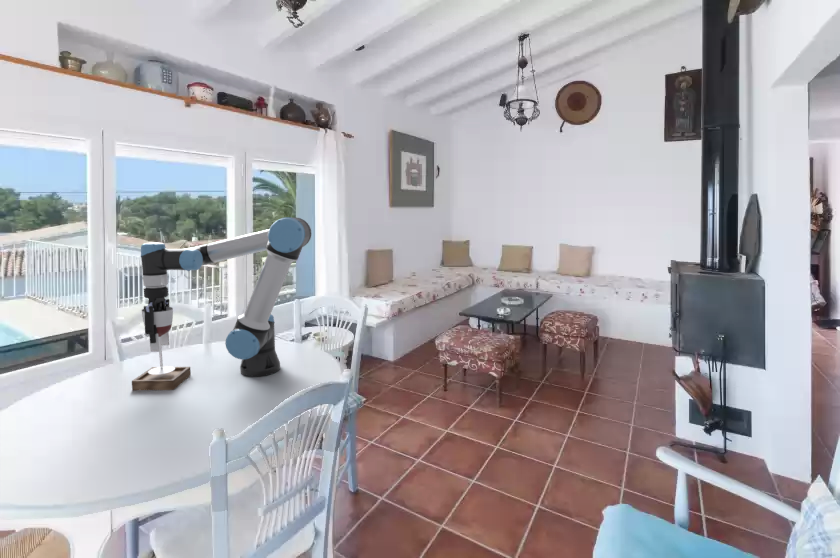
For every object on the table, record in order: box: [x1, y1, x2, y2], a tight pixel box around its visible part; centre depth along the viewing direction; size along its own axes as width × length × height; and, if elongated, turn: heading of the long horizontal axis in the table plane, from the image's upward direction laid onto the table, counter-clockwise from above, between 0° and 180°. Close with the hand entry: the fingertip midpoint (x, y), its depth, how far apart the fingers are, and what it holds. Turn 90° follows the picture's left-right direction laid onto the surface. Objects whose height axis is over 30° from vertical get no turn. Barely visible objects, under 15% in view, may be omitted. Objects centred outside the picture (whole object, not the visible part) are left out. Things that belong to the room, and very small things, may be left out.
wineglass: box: [141, 306, 176, 374], centre depth 159 cm, size 9×10×23 cm
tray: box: [131, 366, 192, 391], centre depth 162 cm, size 14×14×4 cm
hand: (160, 348), depth 160 cm, fingers closed on wineglass, 7 cm apart
